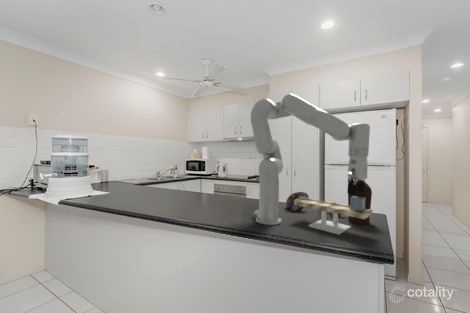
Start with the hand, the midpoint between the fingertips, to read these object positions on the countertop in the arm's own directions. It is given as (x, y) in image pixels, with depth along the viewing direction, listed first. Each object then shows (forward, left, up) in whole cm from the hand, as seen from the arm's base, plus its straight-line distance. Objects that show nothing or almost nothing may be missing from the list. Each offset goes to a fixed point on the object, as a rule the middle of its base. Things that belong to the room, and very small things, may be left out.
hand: (355, 192), depth 98 cm
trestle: (-11, 0, -18) cm, 21 cm away
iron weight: (+1, 0, -8) cm, 8 cm away
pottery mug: (-18, +22, -18) cm, 33 cm away
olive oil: (-5, +20, -18) cm, 27 cm away
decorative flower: (-39, +17, -18) cm, 46 cm away
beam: (-11, 0, -10) cm, 15 cm away
